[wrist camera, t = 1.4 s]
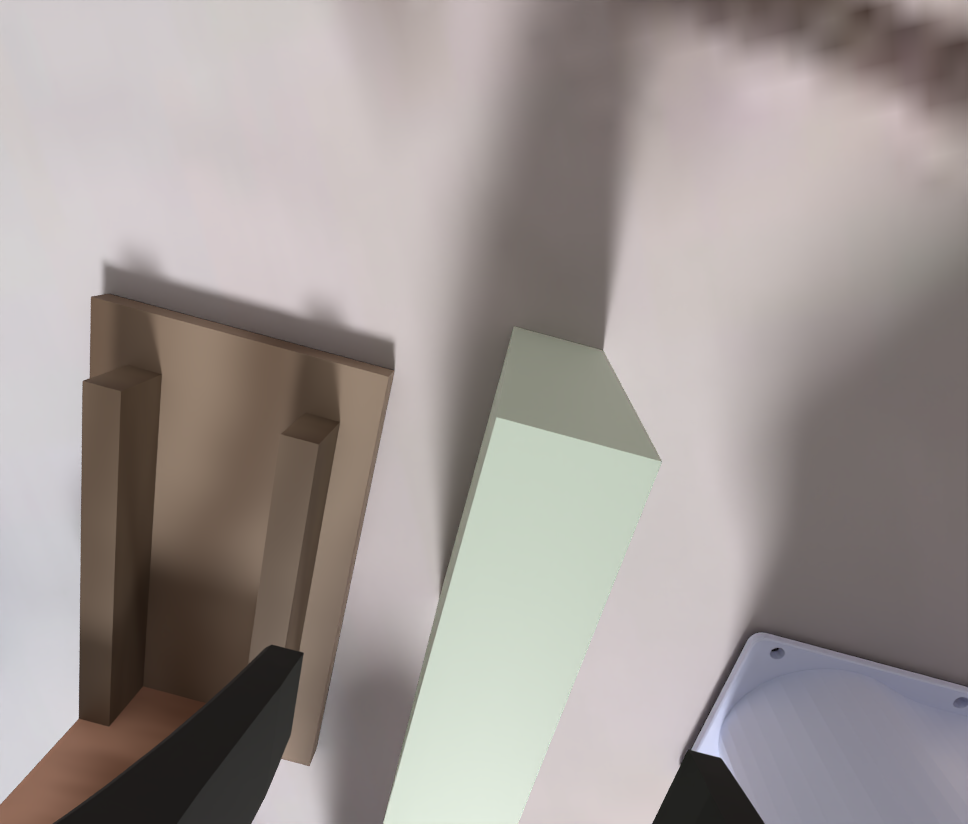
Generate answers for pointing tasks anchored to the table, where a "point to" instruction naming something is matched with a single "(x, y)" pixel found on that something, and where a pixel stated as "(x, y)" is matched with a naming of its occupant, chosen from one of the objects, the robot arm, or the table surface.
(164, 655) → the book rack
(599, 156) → the table surface
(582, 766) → the table surface
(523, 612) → the book
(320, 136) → the table surface
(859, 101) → the table surface
